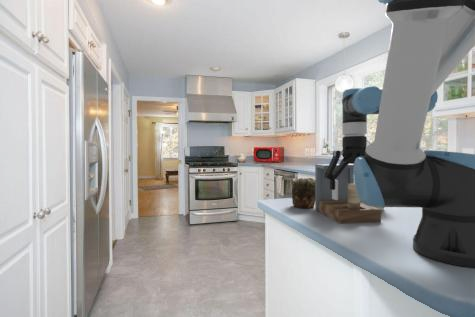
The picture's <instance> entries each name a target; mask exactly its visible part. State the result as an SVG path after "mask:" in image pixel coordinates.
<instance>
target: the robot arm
mask: <svg viewBox="0 0 475 317" xmlns="http://www.w3.org/2000/svg"><path fill="white" fill-rule="evenodd" d="M377 1H378V2H379V3H380V4H383V5H386V7H385V8H386V9H385V14H384V15H385V17H387V18H388V20H389V21H390V22H391V24H392V26H391V27H392V28H391V33H390V39H389V40H390V41H389V46H388V53H387V59H386V64H385V65H386V66H385V70H384V72H385V73H384V78H383V84H382V87H381V88H380V87H378V86H376V85H369V86H368V85H367V86H364V87H353V88H348V89H345V90H343V92H342V99H341V103H342V105H341V106H342V130H341V131H342V136H343V137H342V141H341V143H342V145H341V146H342V150H333V154H332V158H331V160H330V162H329V163H328V164H329V166H328V168H327V170H326V172H325V175H324V177H325V178H328V179H329V180H330V189H331V190H332V199H334V200H338V180H335V179H336V178H337V177H338V176H339V174H340V173H341V172H342V171H343V169H344V168H345V167H346V166H347V165H348V164H354V183H355V185H356V189H357V192H358V195H359V197H360V199H361V201H362V202H363V203H364V204H365V205H367V206H375V207H382V208H419V209H420V208H421V219H420V221H419V224H418V226H417V229H416V232H415V234H414V235H413V238H412V249H413V250H414V251H416V253H418V254H420V255H422V256H424V257H425V258H429V259H431V260H435V261H438V262H441V263H446V264H450V265H454V266H458V267H459V266H460V267H461V266H462V267H469V268H475V154H474V153H467V152H456V151H445V150H444V151H443V150H430V149H429V150H423V149H422V148H421V147H420V146H421V141H422V137H423V132H424V128H425V124H426V120H427V117H428V113H429V112H431V111H433V110H434V108H435V107H436V103H438V99H439V98H438V89H439V88H440V87H441V86H442V84H443V83H444V82H445V81H446V80H447V79H448V77H449V76H450V75H451V74H452V73H453V72H454V70H455V69H456V68H457V67H458V66H459V65H460V64H461V62H462V61H463V60H464V59H465V57H467V55H468V54H469V52H471V50H472V49H473V48H474V46H475V0H377ZM368 115H378V117H377V122H376V129H375V134H374V140H373V142H371V143H370V144H368V142H367V141H368V137H367V136H366V135H367V134H368V131H367V130H368V127H367V126H368V124H367V123H368V122H367V121H368ZM341 157H342V158H341ZM340 158H341V160H340ZM339 160H340V163H339ZM337 164H339V165H338V167H337V168H336V169H335V167H336V165H337ZM334 169H335V170H334ZM333 171H334V172H333Z"/></svg>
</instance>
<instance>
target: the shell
mask: <svg viewBox="0 0 475 317" xmlns="http://www.w3.org/2000/svg"><path fill="white" fill-rule="evenodd" d="M291 199H292V201H291V202H292V205H293V207H294V208H295V209H296V208H298V209H310V208H314V207H315V178H312V177H307V178H297V179H296V180H295V181H294V182H293V184H292V188H291Z"/></svg>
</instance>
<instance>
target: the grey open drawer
mask: <svg viewBox="0 0 475 317" xmlns="http://www.w3.org/2000/svg"><path fill="white" fill-rule="evenodd" d="M329 164H330V163H315V166H314V167H315V170H314V172H315V173H314V179H315V205H314V207H315V208H314V209H315V211H316V212H319V201H329V200H334V199H332V190H331V189H330V180H329V179H328V178H325V177H324V175H325V172H326V170H327V168H328V166H329ZM339 164H340V163H337V165H336V167H335V169H336V168H337V167H338V165H339ZM335 169H334V170H335ZM333 172H334V171H333ZM335 180H338V200H348V184H349V183H355V179H354V164H350V163H349V164H348V165H347V166H346V167H345V168H344V169H343V171H342V172H341V173H340V174H339V176H338V177H337V178H336V179H335Z"/></svg>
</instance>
